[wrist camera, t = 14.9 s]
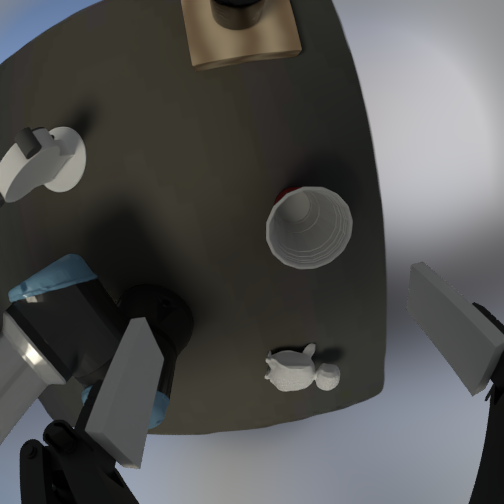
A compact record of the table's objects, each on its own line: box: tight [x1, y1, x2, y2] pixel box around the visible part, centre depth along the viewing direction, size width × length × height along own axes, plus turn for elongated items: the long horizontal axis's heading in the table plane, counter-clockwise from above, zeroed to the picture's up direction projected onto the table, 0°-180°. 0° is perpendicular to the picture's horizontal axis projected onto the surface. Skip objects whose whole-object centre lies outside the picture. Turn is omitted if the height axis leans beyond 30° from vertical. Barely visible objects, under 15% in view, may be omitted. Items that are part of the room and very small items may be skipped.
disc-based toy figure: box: [0, 127, 87, 207], centre depth 32 cm, size 12×11×15 cm
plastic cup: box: [266, 187, 353, 269], centre depth 39 cm, size 11×11×12 cm
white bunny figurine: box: [265, 343, 340, 391], centre depth 54 cm, size 9×8×15 cm
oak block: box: [181, 0, 302, 72], centre depth 31 cm, size 15×15×4 cm
